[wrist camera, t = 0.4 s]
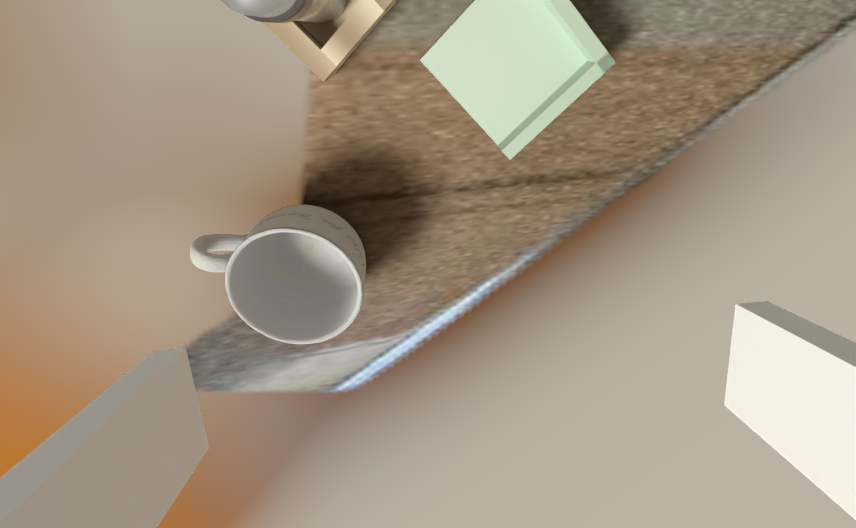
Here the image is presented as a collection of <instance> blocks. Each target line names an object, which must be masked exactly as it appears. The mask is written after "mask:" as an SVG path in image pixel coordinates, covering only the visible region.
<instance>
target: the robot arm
mask: <svg viewBox="0 0 856 528" xmlns="http://www.w3.org/2000/svg"><path fill="white" fill-rule="evenodd" d="M724 405H725V406H726V407H727V408H728V409H729V410H730V411H731V412H733V413H734V414H735V415H736V416H737V417H738V418H739V419H741V420H742V421H743V422H744V423H745V424H747V426H749V427H750V428H751V429H752V430H753V431H754V432H756V433H757V434H758V435H759V436H760V437H761V438H762V439H764V440H765V441H766V442H767V443H768V444H769V445H771V446H772V447H773V448H774V449H775V450H776V451H777V452H778V453H780V454H781V455H782V456H783V457H784V458H785V459H786V460H788V461H789V462H790V463H791V464H792V465H793V466H794V467H796V468H797V469H798V470H799V471H800V472H801V473H802V474H804V475H805V476H806V477H807V478H808V479H809V480H811V481H812V482H813V483H814V484H815V485H816V486H817V487H819V488H820V489H821V490H822V491H823V492H824V493H825V494H827V495H828V496H829V497H830V498H831V499H832V500H833V501H835V502H836V503H837V504H838V505H839V506H840V507H841V508H843V509H844V510H845V511H846V512H847V513H848V514H849V515H851V516H852V517H853V518H854V519H855V520H856V343H855V342H852V341H850V340H848V339H846V338H844V337H842V336H840V335H838V334H835V333H833V332H831V331H829V330H827V329H825V328H823V327H821V326H818V325H816V324H814V323H812V322H810V321H808V320H806V319H804V318H801V317H799V316H797V315H795V314H793V313H791V312H789V311H787V310H785V309H783V308H780V307H778V306H776V305H774V304H772V303H770V302H768V301H767V302H754V303H741V304H736V305H735V314H734V323H733V332H732V341H731V350H730V359H729V367H728V376H727V385H726V394H725V404H724ZM208 448H209V445H208V441H207V437H206V433H205V429H204V424H203V420H202V416H201V411H200V407H199V403H198V399H197V394H196V390H195V386H194V382H193V378H192V373H191V369H190V365H189V361H188V356H187V352H186V348H181V349H168V350H156V351H152V352H151V353H150V354H149V355H147V356H146V357H145V358H144V359H143V360H141V361H140V362H139V363H138V364H137V365H135V366H134V367H133V368H132V369H130V370H129V371H128V372H127V373H126V374H124V376H122V377H121V378H120V379H118V380H117V381H116V382H115V383H114V384H113V385H111V386H110V387H109V388H108V389H106V390H105V391H104V392H103V393H101V394H100V395H99V396H98V397H97V398H95V399H94V400H93V401H92V402H91V403H89V404H88V405H87V406H86V407H85V408H83V409H82V410H81V411H80V412H79V413H78V414H76V415H75V416H74V417H73V418H71V419H70V420H69V421H68V422H67V423H65V424H64V425H63V426H62V427H61V428H59V429H58V430H57V431H56V432H55V433H53V434H52V435H51V436H50V437H48V438H47V439H46V440H45V441H44V442H42V443H41V444H40V445H39V446H38V447H36V448H35V449H34V450H33V451H32V452H30V453H29V454H28V455H27V456H25V457H24V458H23V459H22V460H21V461H19V463H17V464H16V465H15V466H13V467H12V468H11V469H10V470H9V471H7V472H6V473H5V474H4V475H3V476H1V477H0V528H157V526H158V525H159V523H160V521H161V520H162V518H163V517H164V515H165V514H166V512H167V511H168V509H169V508H170V506H171V505H172V503H173V502H174V500H175V499H176V497H177V496H178V494H179V492H180V491H181V490H182V488H183V486H184V485H185V483H186V482H187V480H188V479H189V477H190V476H191V474H192V473H193V471H194V470H195V468H196V467H197V465H198V464H199V462H200V461H201V459H202V457H203V456H204V454H205V453H206V451H207V449H208Z"/></svg>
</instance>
